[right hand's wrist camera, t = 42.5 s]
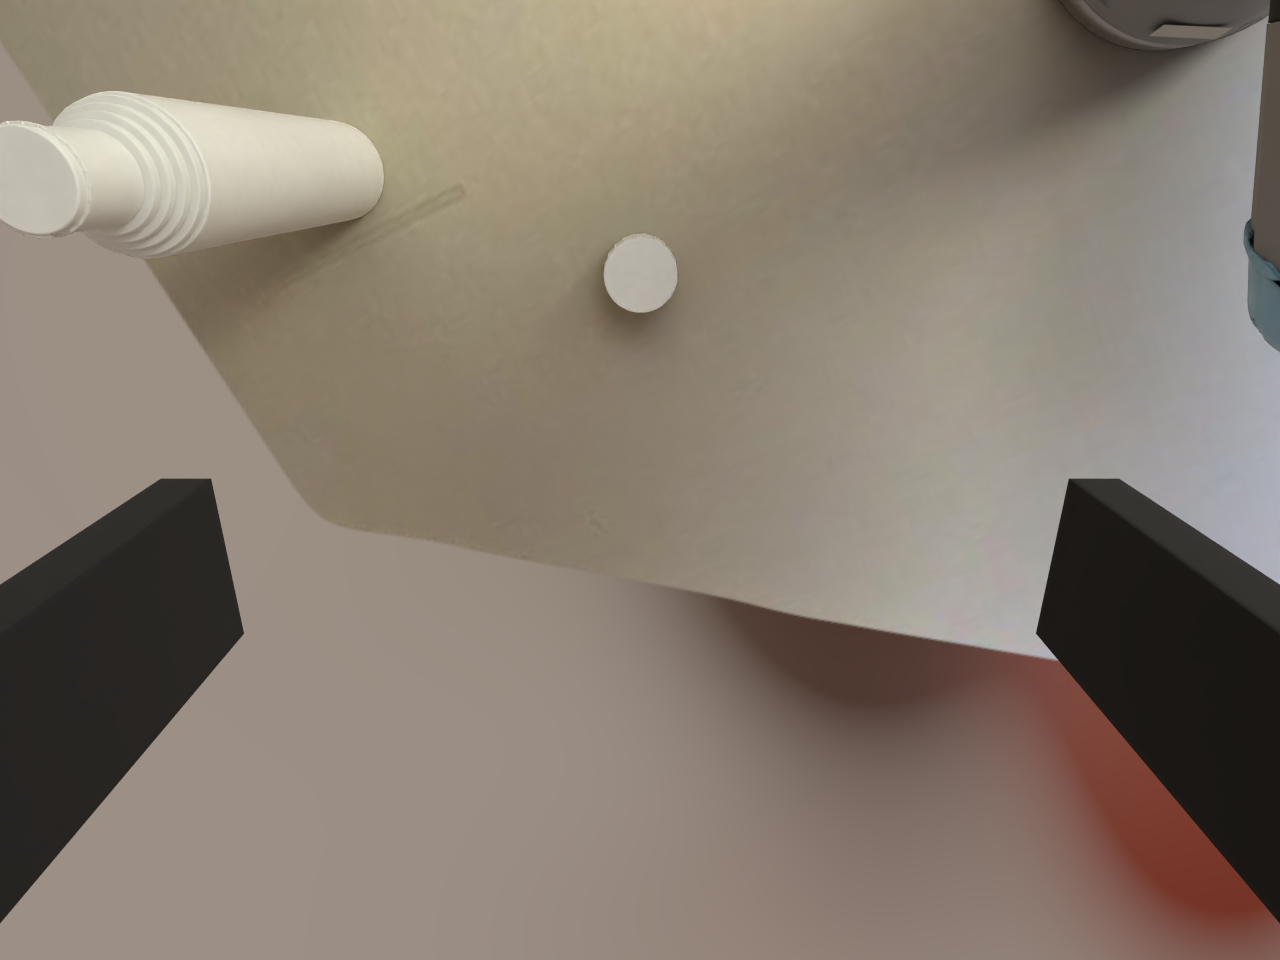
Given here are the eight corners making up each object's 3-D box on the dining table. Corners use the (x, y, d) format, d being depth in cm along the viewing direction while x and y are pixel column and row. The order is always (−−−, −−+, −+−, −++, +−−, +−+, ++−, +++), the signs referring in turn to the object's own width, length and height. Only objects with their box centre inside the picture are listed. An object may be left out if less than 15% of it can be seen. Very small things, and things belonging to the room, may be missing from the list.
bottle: (282, 122, 44) (-105, 78, 21) (376, 119, 44) (91, 71, 21) (299, 222, 46) (-37, 281, 23) (390, 219, 46) (143, 275, 23)
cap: (590, 276, 47) (587, 283, 44) (634, 217, 45) (633, 220, 43) (646, 320, 48) (647, 328, 45) (690, 262, 46) (693, 268, 44)
